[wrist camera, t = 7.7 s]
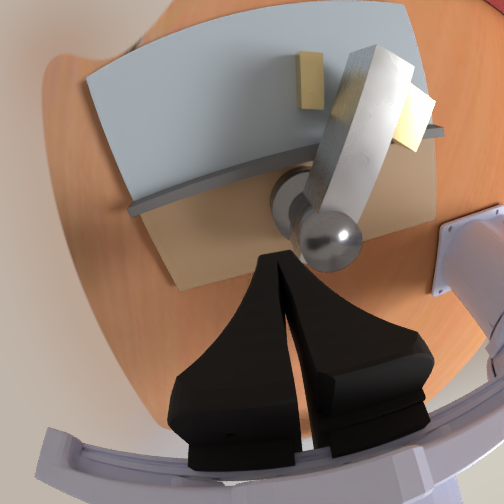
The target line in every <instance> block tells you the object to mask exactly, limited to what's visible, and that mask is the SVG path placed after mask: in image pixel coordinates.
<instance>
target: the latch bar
mask: <svg viewBox="0 0 504 504" xmlns="http://www.w3.org/2000/svg"><path fill="white" fill-rule="evenodd" d="M413 71H414V66H413V65H411V64H409V63H408V62H406V61H405V60H403V59H402V58H400V57H398V56H397V55H395V54H393V53H392V52H390V51H388V50H387V49H385V48H383V47H381V46H379V45H378V44H376V45H372V46H369V47H366V48H363V49H360V50H357V51H354V52H351V53H349V56H348V59H347V63H346V66H345V69H344V72H343V75H342V78H341V81H340V84H339V88H338V91H337V94H336V97H335V100H334V103H333V106H332V109H331V112H330V115H329V118H328V121H327V124H326V127H325V130H324V132H323V135H322V138H321V141H320V144H319V147H318V150H317V153H316V156H315V158H314V161H313V164H312V167H311V170H310V172H309V175H308V178H307V181H306V184H305V186H304V189H303V192H301V193H300V194H298V195H297V196H296V197H295V198H294V199H293V201H292V202H291V204H290V207H289V211H288V217H289V222H290V224H291V225H290V227H289V230H288V235H289V238H290V241H291V243H292V246H293V249H294V252H295V255H296V256H297V257H298V258H299V260H300V261H301V262H302V263H305V264H308V265H309V266H310V267H311V268H313V269H315V270H317V271H320V272H335V271H338V270H341V269H343V268H345V267H347V266H348V265H349V264H351V263H352V262H353V261H354V260H355V258H356V257H357V256H358V254H359V252H360V250H361V247H362V240H363V238H362V233H361V230H360V228H359V226H358V225H357V223H358V221H359V219H360V217H361V214H362V212H363V210H364V208H365V205H366V203H367V201H368V198H369V196H370V194H371V191H372V189H373V186H374V184H375V182H376V179H377V177H378V174H379V172H380V169H381V167H382V164H383V161H384V159H385V156H386V154H387V151H388V148H389V145H390V143H391V140H392V137H393V134H394V131H395V129H396V126H397V123H398V120H399V117H400V114H401V111H402V108H403V105H404V101H405V98H406V95H407V92H408V88H409V85H410V81H411V78H412V74H413Z"/></svg>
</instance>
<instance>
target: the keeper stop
mask: <svg viewBox="0 0 504 504" xmlns="http://www.w3.org/2000/svg"><path fill="white" fill-rule="evenodd" d="M434 104H435V101H434V100H432V99H431V98H430V97H429V96H427V95H426V94H425V93H423V92H422V91H421V90H419V89H418V88H417V87H415V86H414V85H413V84H411V83H410V85H409V88H408V92H407V95H406V98H405V101H404V105H403V108H402V111H401V114H400V117H399V120H398V123H397V126H396V129H395V131H394V134H393V137H392V140H391V141H392V142H393V143H395V144H396V145H399V146H402V147H404V148H407V149H409V150H411V151H414V152H416V151H417V149H418V146H419V144H420V142H421V139H422V137H423V134H424V131H425V129H426V126H427V124H428V121H429V118H430V116H431V113H432V110H433V107H434Z"/></svg>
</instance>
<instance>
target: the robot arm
mask: <svg viewBox="0 0 504 504" xmlns="http://www.w3.org/2000/svg"><path fill="white" fill-rule="evenodd" d="M449 227H450V228H449ZM450 290H452V291H453V292H454V293H455V295H456V296H457V297H458V298H459V300H460V301H461V302H462V304H463V305H464V306H465V307H466V309H467V310H468V311H469V313H470V314H471V315H472V317H473V318H474V319H475V321H476V322H477V323H478V325H479V326H480V328H481V329H482V331H483V332H484V333H485V335H486V336H487V338H488V339H489V341H490V342H489V344H488V345H487V346H486V348H485V349H486V350H487V352H488V353H489V355H490V357H489V359H488V361H487V376H488V382H487V383H485V384H483V385H482V386H480V387H479V388H477V389H475V390H473V391H472V392H470V393H468V394H466V395H465V396H463V397H461V398H459V399H457V400H455V401H453V402H452V403H450V404H448V405H446V406H444V407H441V408H439V409H437V410H435V411H433V412H431V413H429V414H428V412H427V410H426V407H425V405H424V402H423V401H424V400H425V399H426V396H425V394H424V391H423V389H422V387H423V385H424V384H425V382H426V380H427V379H428V377H429V375H430V374H431V371H432V369H433V366H434V357H433V355H432V354H431V352H430V350H429V348H428V346H427V345H426V343H425V342H424V340H423V339H422V338H421V336H420V335H419V333H418V332H416V331H413V330H410V329H407V328H404V327H401V326H398V325H395V324H392V323H390V322H387V321H385V320H383V319H380V318H378V317H376V316H374V315H372V314H369V313H367V312H366V311H364V310H362V309H360V308H358V307H356V306H355V305H353V304H351V303H350V302H348V301H346V300H345V299H343V298H342V297H341V296H339V295H338V294H336V293H335V292H334V291H332V290H331V289H330V288H329V287H327V286H326V285H325V284H324V283H323V282H321V281H320V280H319V279H318V278H317V277H316V276H315V275H314V274H313V273H312V272H311V271H310V270H309V269H308V268H307V267H306V266H305V265H304V264H303V263H302V262H301V261H300V260H299V258H298V257H297V256H296V255H295V254H294V252H293V251H292V250H285V251H279V252H273V253H268V254H262V255H260V256H259V257H258V260H257V265H256V269H255V272H254V275H253V278H252V280H251V283H250V285H249V288H248V290H247V292H246V294H245V296H244V298H243V300H242V302H241V304H240V306H239V308H238V309H237V311H236V313H235V314H234V316H233V317H232V319H231V321H230V322H229V323H228V325H227V326H226V328H225V329H224V330H223V332H222V333H221V334H220V335H219V337H218V338H217V339H216V340H215V341H214V343H213V344H212V345H211V346H210V347H209V348H208V349H207V350H206V351H205V352H204V353H203V354H202V356H200V357H199V358H198V359H197V360H196V361H195V362H194V363H193V364H192V365H191V366H189V367H188V368H187V369H186V370H185V371H183V372H182V373H181V374H180V375H179V376H177V377H176V381H175V384H174V387H173V390H172V394H171V398H170V404H169V411H168V418H167V422H168V425H169V426H170V428H171V429H172V430H173V431H174V432H175V433H176V434H178V435H179V436H180V437H181V438H182V439H183V440H185V441H186V442H187V443H188V444H189V452H188V459H183V458H168V457H158V456H149V455H140V454H134V453H128V452H122V451H116V450H111V449H106V448H102V447H97V446H93V445H89V444H85V443H82V442H81V441H80V440H79V439H77V438H76V437H74V436H73V435H71V434H68V433H66V432H63V431H59V430H56V429H53V428H50V427H49V428H47V431H46V435H45V438H44V441H43V445H42V448H41V452H40V456H39V460H38V464H37V468H36V473H35V477H36V478H37V479H38V480H40V481H42V482H44V483H46V484H48V485H50V486H52V487H54V488H56V489H58V490H60V491H62V492H64V493H66V494H68V495H71V496H73V497H75V498H77V499H80V500H82V501H84V502H87V503H89V504H463V502H462V498H461V494H460V490H459V486H458V483H457V480H456V475H457V474H459V473H461V472H462V471H464V470H466V469H467V468H468V467H470V466H472V465H473V464H475V463H476V462H477V461H479V460H480V459H482V458H483V457H485V456H486V455H487V454H489V453H490V452H491V451H493V450H494V449H495V448H497V447H498V446H499V445H500V444H502V443H503V442H504V205H503V204H499V205H497V206H494V207H491V208H488V209H485V210H482V211H479V212H477V213H474V214H471V215H468V216H465V217H462V218H459V219H456V220H453V221H450V222H447V223H444V224H442V225H441V227H440V232H439V243H438V252H437V260H436V268H435V274H434V280H433V286H432V292H431V294H432V295H433V297H436V296H438V295H441V294H443V293H445V292H447V291H450ZM285 314H286V317H287V321H288V324H289V327H290V331H291V334H292V337H293V341H294V344H295V347H296V351H297V354H298V358H299V362H300V367H301V372H302V378H303V383H304V389H305V395H306V401H307V407H308V413H309V419H310V426H311V432H312V439H313V446H314V450H308V451H303V452H302V442H301V430H300V420H299V411H298V402H297V395H296V389H295V383H294V377H293V372H292V367H291V362H290V356H289V351H288V346H287V334H286V320H285ZM402 447H404V448H402ZM400 448H401V449H400ZM397 449H398V450H397ZM394 450H395V451H394ZM263 479H265V480H263ZM248 480H257V481H249V482H244V483H239V484H236V485H235V486H225V485H224V484H223V483H222V482H217V481H248Z"/></svg>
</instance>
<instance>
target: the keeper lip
mask: <svg viewBox="0 0 504 504" xmlns="http://www.w3.org/2000/svg"><path fill="white" fill-rule="evenodd" d="M295 64H296V97H297V108H299V109H319V110H324V65H323V53H320V52H308V51H299V52H298V53H296V54H295Z"/></svg>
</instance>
